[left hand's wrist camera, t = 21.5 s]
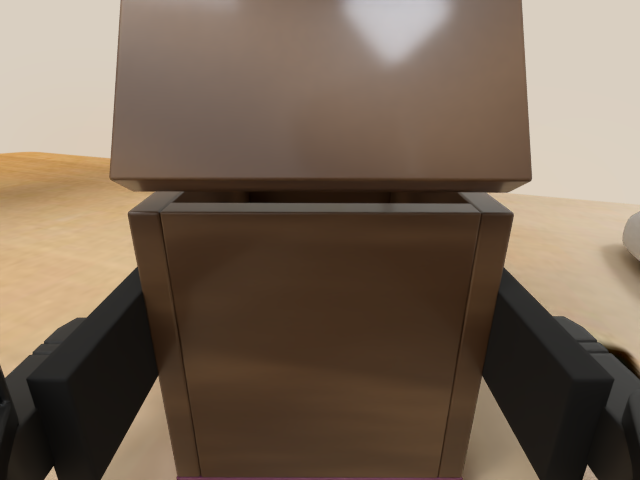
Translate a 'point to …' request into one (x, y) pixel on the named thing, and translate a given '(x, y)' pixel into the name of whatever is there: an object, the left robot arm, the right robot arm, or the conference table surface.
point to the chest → (320, 328)
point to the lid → (321, 96)
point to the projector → (632, 235)
